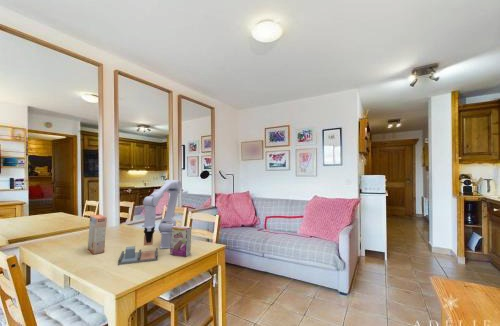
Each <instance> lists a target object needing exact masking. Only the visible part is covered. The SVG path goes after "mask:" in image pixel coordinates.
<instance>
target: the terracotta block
mask: <svg viewBox="0 0 500 326" xmlns="http://www.w3.org/2000/svg"><path fill="white" fill-rule="evenodd" d="M153 243H154V234H153V235H152V240H151V242H150V243H147V242H146V236H145V234H144V236H143V247H144V246H153Z"/></svg>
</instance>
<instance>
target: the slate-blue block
mask: <svg viewBox="0 0 500 326" xmlns="http://www.w3.org/2000/svg"><path fill="white" fill-rule="evenodd" d="M135 253H136V245H135V246H126V248H125V251H124V254H125V259H129V258H134V257H135Z"/></svg>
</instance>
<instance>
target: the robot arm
mask: <svg viewBox="0 0 500 326" xmlns="http://www.w3.org/2000/svg"><path fill="white" fill-rule="evenodd" d="M181 189H182V183H181V180H180V179H165V181H164V182H163V184H162V186H161V187H160V188H157V189H155V190H154V191H153V192H152V193H151V194H150V195H149V196H145V197H144V199H143V200H142V204H143V209H144V221H143V222H144V224H142V225H141V227H142V228H144V230H143V233H144V235H145V236H146V242H147V243H150V242H151V240H152V235H153V236H154V233H155V231H156V230H155V229H156V212H157V206H158V204H159V202H160V200H161V199H162V198H163V197H164V196H165V195H164V194H165V193H166V192H168V193H169V198H168V204H167V206H166V211H165V215H164V217H163V218H161V220H160V222H159V225H158V232H159V233H160V244H159V249H160V250H161V249H171V228H172V227H173V226H176V225H177V221H176V219H174V216H175V210H176V206H177V202H178V201H177V200H178V197H179V194H180V193H181Z"/></svg>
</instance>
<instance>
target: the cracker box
mask: <svg viewBox="0 0 500 326" xmlns="http://www.w3.org/2000/svg"><path fill="white" fill-rule="evenodd" d="M107 219H108V218H107V216H104V215H102V214H91V215H90V216H89V227H88V239H87V240H88V241H87V250H88V251H89V252H91V254H92V255H98V254H103V253H105V248H106V247H105V246H106V235H107V234H106V233H107V232H106V230H107Z"/></svg>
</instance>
